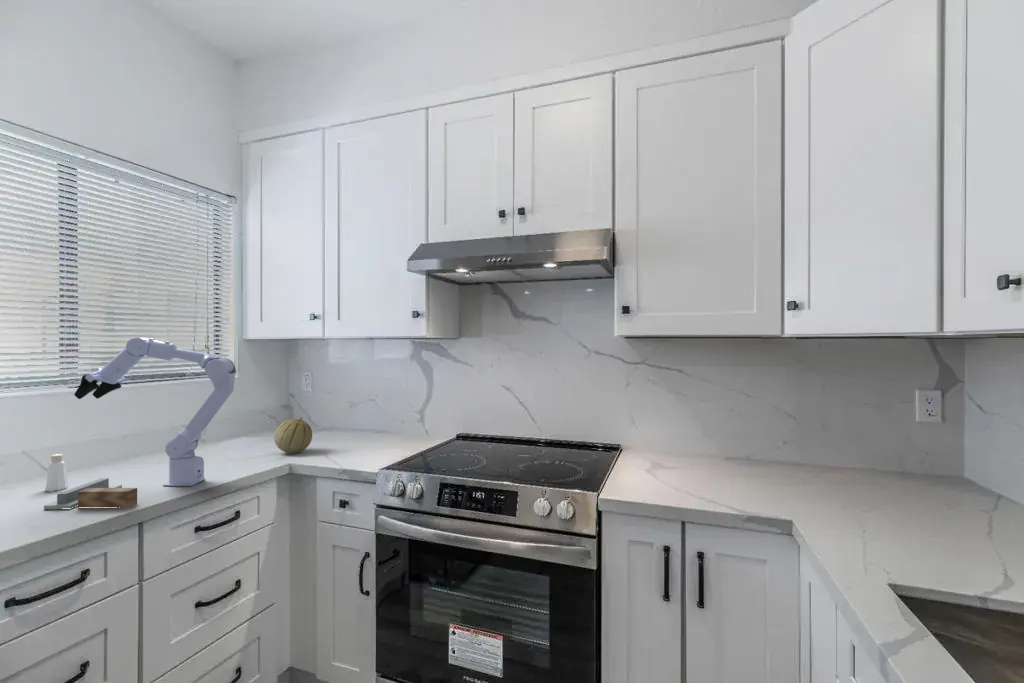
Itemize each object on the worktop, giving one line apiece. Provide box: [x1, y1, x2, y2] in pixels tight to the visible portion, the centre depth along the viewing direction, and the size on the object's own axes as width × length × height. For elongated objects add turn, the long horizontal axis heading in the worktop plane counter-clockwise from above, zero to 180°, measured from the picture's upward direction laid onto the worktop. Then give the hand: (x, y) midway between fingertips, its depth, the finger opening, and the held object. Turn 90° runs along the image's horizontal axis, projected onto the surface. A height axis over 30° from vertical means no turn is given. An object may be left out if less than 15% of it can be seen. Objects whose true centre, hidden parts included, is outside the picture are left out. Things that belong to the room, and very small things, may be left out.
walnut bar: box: [77, 487, 138, 509], centre depth 142 cm, size 14×4×5 cm, turn 92°
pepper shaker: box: [44, 453, 69, 492], centre depth 159 cm, size 5×5×11 cm
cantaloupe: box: [273, 417, 313, 454], centre depth 211 cm, size 15×15×15 cm
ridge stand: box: [43, 477, 123, 510], centre depth 149 cm, size 7×20×4 cm, turn 3°
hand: (86, 396), depth 160 cm, fingers open, 7 cm apart
